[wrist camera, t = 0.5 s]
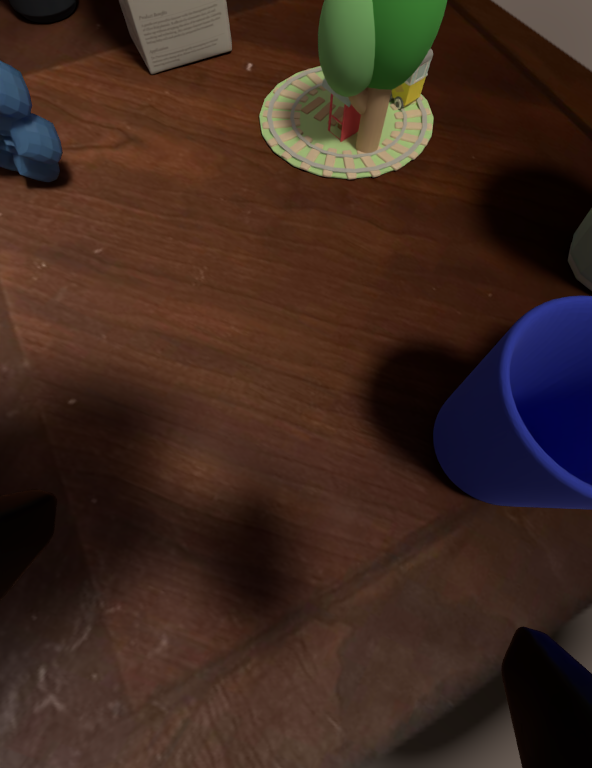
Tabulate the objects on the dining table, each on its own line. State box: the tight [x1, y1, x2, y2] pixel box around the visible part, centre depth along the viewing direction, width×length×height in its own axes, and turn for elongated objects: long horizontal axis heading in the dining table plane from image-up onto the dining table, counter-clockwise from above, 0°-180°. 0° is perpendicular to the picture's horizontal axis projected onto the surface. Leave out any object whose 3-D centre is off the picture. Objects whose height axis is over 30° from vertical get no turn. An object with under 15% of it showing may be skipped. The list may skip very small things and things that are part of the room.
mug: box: [433, 296, 592, 509], centre depth 19 cm, size 8×12×10 cm
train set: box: [259, 0, 447, 180], centre depth 27 cm, size 15×14×14 cm
